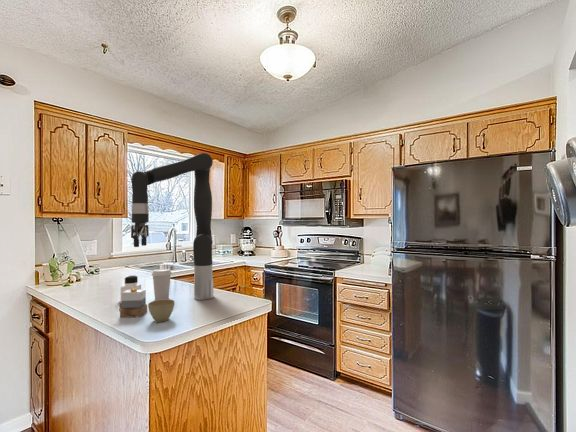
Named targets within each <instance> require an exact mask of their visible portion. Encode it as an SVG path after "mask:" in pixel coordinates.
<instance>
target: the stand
mask: <svg viewBox="0 0 576 432" xmlns="http://www.w3.org/2000/svg"><path fill="white" fill-rule="evenodd" d="M147 312H148V304H146V305H145V306H144V307H142V308H141V309H119V318H135V317H136V318H139V317H141V316H143V315H144V314H146V313H147Z"/></svg>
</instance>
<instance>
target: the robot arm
mask: <svg viewBox="0 0 576 432" xmlns="http://www.w3.org/2000/svg"><path fill="white" fill-rule="evenodd" d="M213 160H214V159H213V158H212V156H211V155H210V154H208V153H206V152H201V153H198V154H196V155H194V156H191V157H190V158H187V159H184V160H181V161H176V162H172V163H169V164H165V165H160V166H158V167H153V168H152V169H150V170H145V171H141V170H138V171H135V172H134V173H133V174H132V175H131V188H132V189H131V191H132V197H131V200H132V201H131V203H132V204H131V223H133V224H131V226H130V228H131V229H130V237H131V239H133V247H134V248H139V247H140V241H141V247H142V246H147V243H148V242H147V238H148V237H149V235H150V232H149V229H150V228H149V227H150V226H149V224H147V223H149V221H150V219H149V218H150V217H149V216H150V213H149V208H150V207H149V194H148V186H150V185H152V184H155V183H158V182H162V181H166V180H167V181H168V180H170V179H173V178H176V177H178V176H181V175H183V174H187V173H190V172H194V191H193V210H194V217H195V223H196V235H195V238H194V240H193V243H192V245H193V256H192V257H193V272H194V273H193V274H194V276H193V285H194V287H193V292H194V293H193V295H194V297H193V298H194V300H196V301H201V300H202V301H203V300H204V301H205V300H212V299H213V297H214V278H213V243H214V241H213V235H212V215H213V214H212V213H213V212H212V211H213V196H212V189H211V185H210V172H211V171H210V170H211V168H212V166H213V163H214V162H213ZM140 237H141V239H140Z"/></svg>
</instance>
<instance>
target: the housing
mask: <svg viewBox="0 0 576 432" xmlns="http://www.w3.org/2000/svg"><path fill="white" fill-rule="evenodd" d="M146 295H147V294H146V289H141V290H137V289H131V290H126V291H124V292H122V301H121V302H122V309H141V308H142V307H144V306H145V305H146V302H147V301H146V299H147V296H146Z"/></svg>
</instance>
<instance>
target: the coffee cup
mask: <svg viewBox="0 0 576 432" xmlns="http://www.w3.org/2000/svg"><path fill="white" fill-rule="evenodd" d="M171 275H172V271H171V269H170V268H158V269H157V268H156V269H153V271H152V273H151V276H152V281H153V283H152V284H153V291H154V301H156V300H164V299H169V297H170V286H171V284H170V283H171Z"/></svg>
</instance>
